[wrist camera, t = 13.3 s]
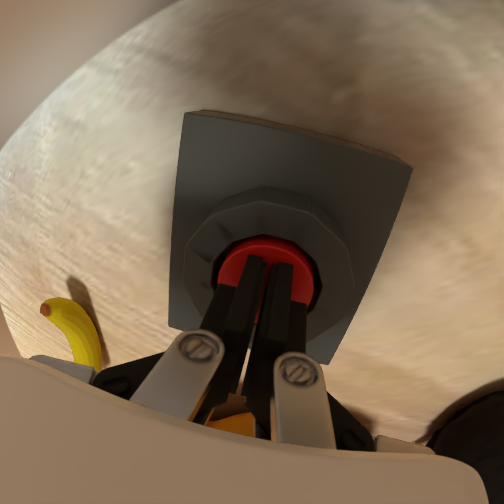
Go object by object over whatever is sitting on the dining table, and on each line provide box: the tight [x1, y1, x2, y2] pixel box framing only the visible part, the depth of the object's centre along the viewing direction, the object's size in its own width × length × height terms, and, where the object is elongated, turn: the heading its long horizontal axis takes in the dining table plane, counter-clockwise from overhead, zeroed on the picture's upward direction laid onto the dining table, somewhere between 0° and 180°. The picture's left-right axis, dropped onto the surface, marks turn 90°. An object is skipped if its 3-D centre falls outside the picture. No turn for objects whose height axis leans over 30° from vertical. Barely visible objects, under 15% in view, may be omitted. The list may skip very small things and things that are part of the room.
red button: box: [218, 234, 314, 324], centre depth 12 cm, size 4×4×2 cm
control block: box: [168, 110, 413, 365], centre depth 13 cm, size 11×9×4 cm
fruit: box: [40, 297, 102, 371], centre depth 19 cm, size 10×2×5 cm, turn 176°
